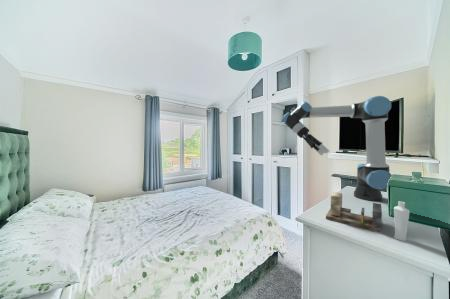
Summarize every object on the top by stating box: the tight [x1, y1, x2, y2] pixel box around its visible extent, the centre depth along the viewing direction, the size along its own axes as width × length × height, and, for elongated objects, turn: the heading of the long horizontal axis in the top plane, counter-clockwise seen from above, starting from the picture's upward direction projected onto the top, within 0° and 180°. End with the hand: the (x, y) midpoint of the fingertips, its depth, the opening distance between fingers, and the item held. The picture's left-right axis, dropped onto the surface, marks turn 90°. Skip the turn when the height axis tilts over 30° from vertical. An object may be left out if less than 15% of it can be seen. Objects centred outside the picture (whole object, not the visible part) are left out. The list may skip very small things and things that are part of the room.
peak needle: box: [360, 207, 366, 223], centre depth 82 cm, size 1×9×4 cm, turn 139°
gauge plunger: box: [330, 191, 352, 216], centre depth 88 cm, size 8×7×10 cm
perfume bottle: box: [393, 200, 411, 242], centre depth 70 cm, size 5×4×15 cm
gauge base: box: [325, 202, 383, 233], centre depth 85 cm, size 21×12×9 cm, turn 49°
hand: (325, 153), depth 108 cm, fingers open, 13 cm apart
